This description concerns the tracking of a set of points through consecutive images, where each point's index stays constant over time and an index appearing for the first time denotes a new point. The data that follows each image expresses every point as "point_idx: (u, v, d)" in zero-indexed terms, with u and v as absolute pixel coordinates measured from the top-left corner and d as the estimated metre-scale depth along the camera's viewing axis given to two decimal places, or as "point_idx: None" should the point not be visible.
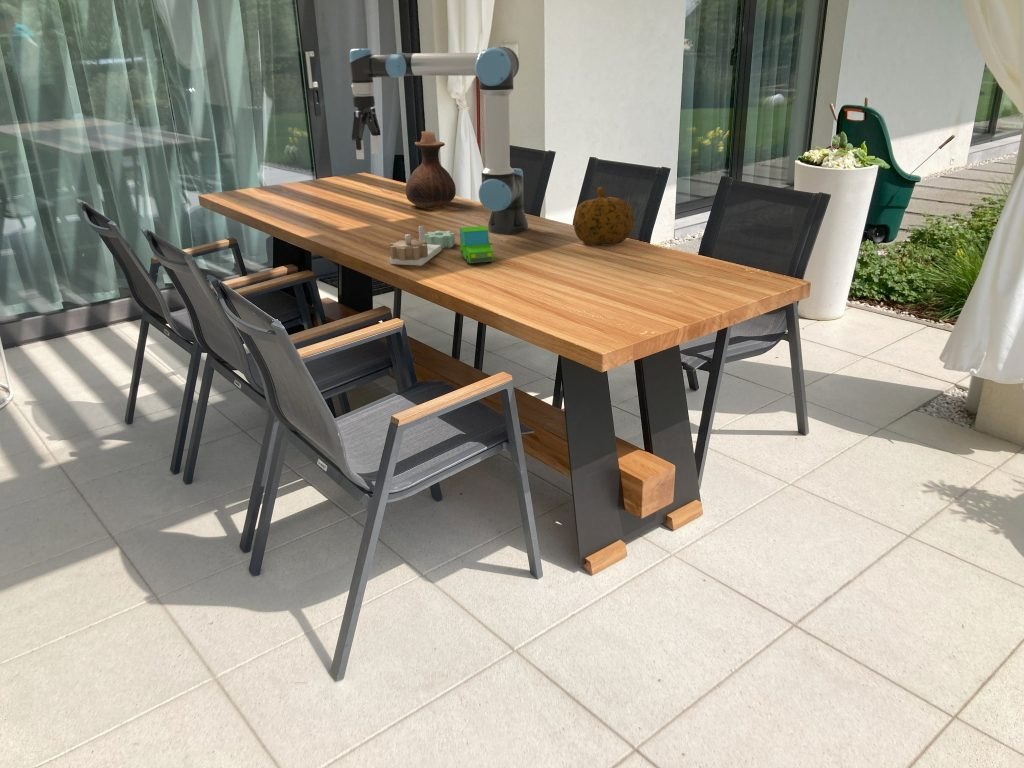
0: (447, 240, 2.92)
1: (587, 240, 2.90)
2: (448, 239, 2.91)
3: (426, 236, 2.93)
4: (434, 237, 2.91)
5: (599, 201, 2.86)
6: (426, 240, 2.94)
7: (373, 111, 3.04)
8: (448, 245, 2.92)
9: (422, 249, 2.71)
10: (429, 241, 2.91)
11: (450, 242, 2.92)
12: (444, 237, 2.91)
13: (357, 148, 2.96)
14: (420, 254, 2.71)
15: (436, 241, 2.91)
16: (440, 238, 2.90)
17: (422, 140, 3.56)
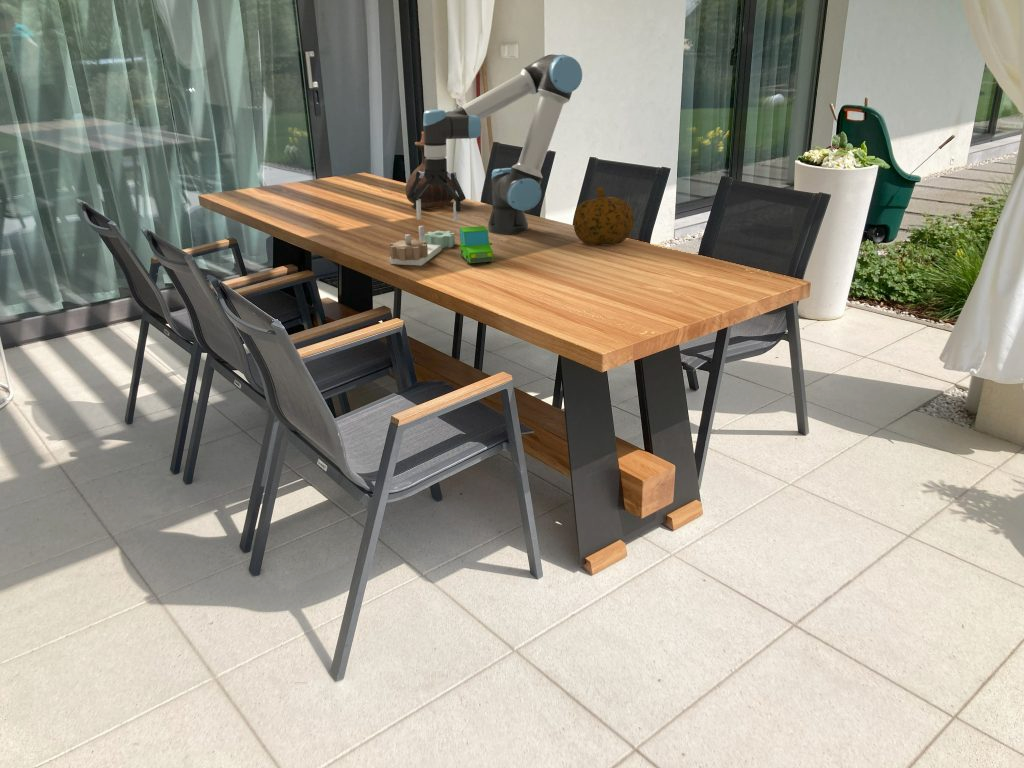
0: (447, 240, 2.92)
1: (587, 240, 2.90)
2: (448, 239, 2.91)
3: (426, 236, 2.93)
4: (434, 237, 2.91)
5: (599, 201, 2.85)
6: (426, 240, 2.94)
7: (451, 176, 2.84)
8: (448, 245, 2.92)
9: (422, 249, 2.71)
10: (429, 241, 2.91)
11: (450, 242, 2.92)
12: (444, 237, 2.91)
13: None
14: (420, 254, 2.71)
15: (436, 241, 2.91)
16: (440, 238, 2.90)
17: (422, 140, 3.56)
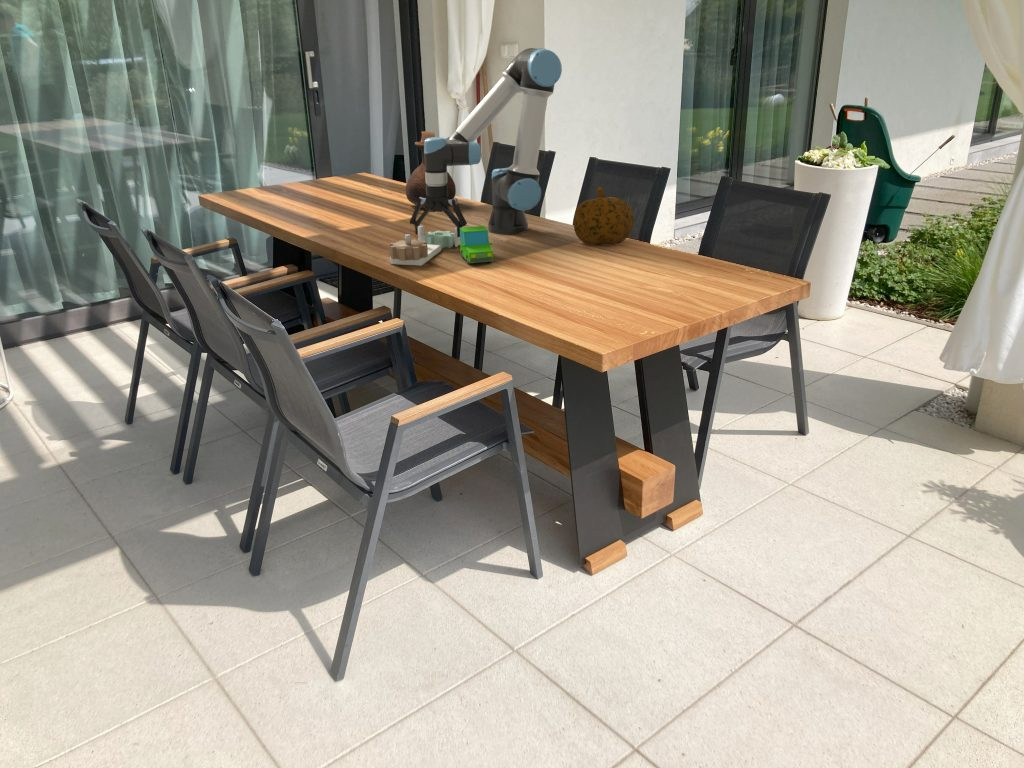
0: (447, 240, 2.92)
1: (587, 240, 2.90)
2: (448, 239, 2.91)
3: (426, 236, 2.93)
4: (434, 237, 2.91)
5: (599, 201, 2.85)
6: (426, 240, 2.94)
7: (452, 202, 2.88)
8: (448, 245, 2.92)
9: (422, 249, 2.71)
10: (429, 241, 2.91)
11: (450, 242, 2.92)
12: (444, 237, 2.91)
13: None
14: (420, 254, 2.71)
15: (436, 241, 2.91)
16: (440, 238, 2.90)
17: (422, 140, 3.56)
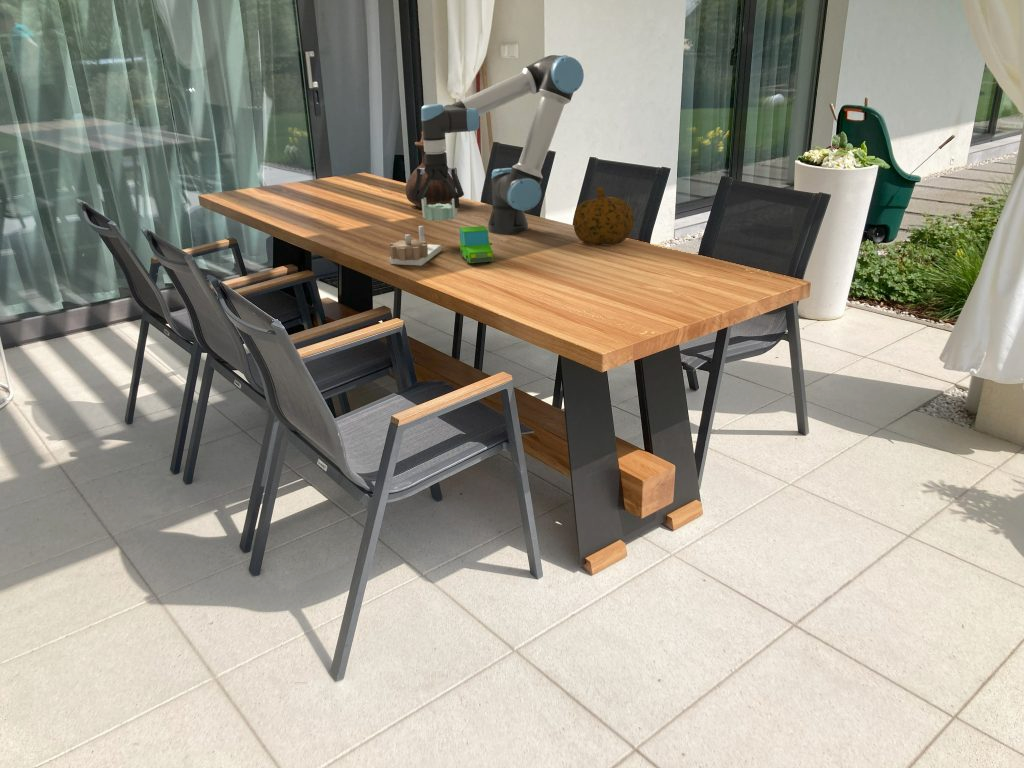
0: (448, 212, 2.88)
1: (587, 240, 2.90)
2: (448, 211, 2.88)
3: (426, 209, 2.89)
4: (434, 209, 2.87)
5: (599, 201, 2.86)
6: (426, 213, 2.90)
7: (451, 172, 2.84)
8: (448, 217, 2.89)
9: (422, 249, 2.71)
10: (429, 214, 2.87)
11: (450, 214, 2.88)
12: (444, 209, 2.88)
13: None
14: (420, 254, 2.71)
15: (436, 213, 2.88)
16: (440, 210, 2.86)
17: (422, 140, 3.56)
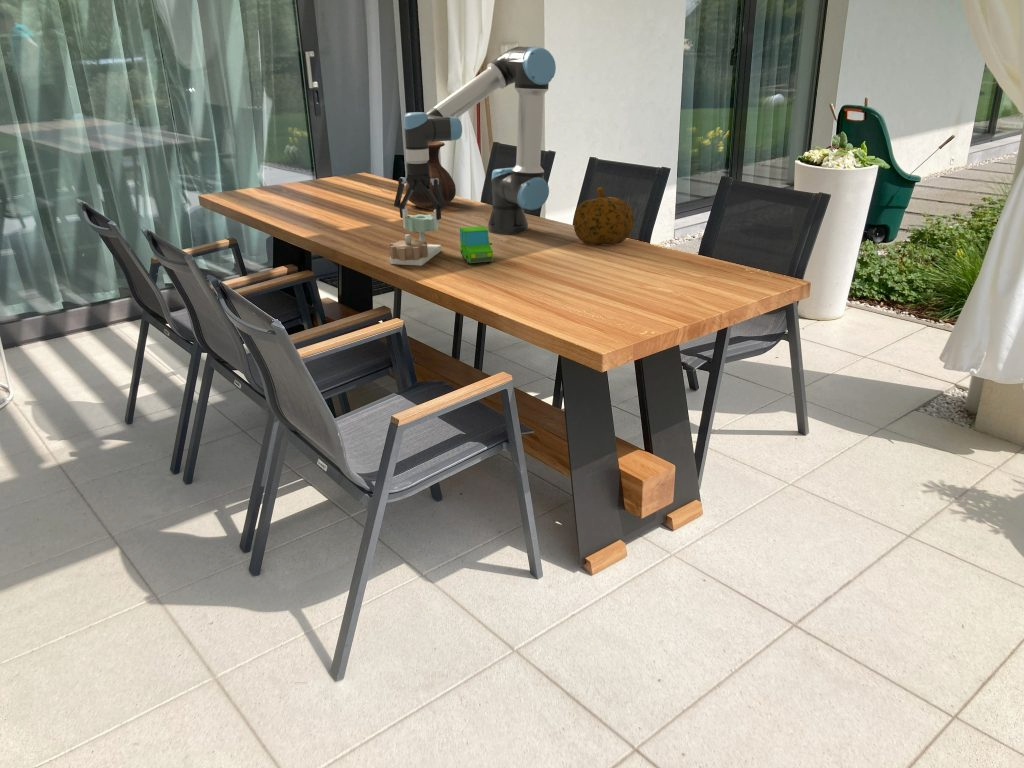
0: (429, 223, 2.79)
1: (587, 240, 2.90)
2: (430, 222, 2.79)
3: (407, 219, 2.81)
4: (415, 220, 2.78)
5: (599, 201, 2.86)
6: (407, 223, 2.81)
7: (433, 182, 2.75)
8: (430, 229, 2.80)
9: (422, 249, 2.71)
10: (410, 224, 2.78)
11: (432, 226, 2.80)
12: (425, 220, 2.79)
13: None
14: (420, 254, 2.71)
15: (417, 224, 2.79)
16: (421, 221, 2.77)
17: None
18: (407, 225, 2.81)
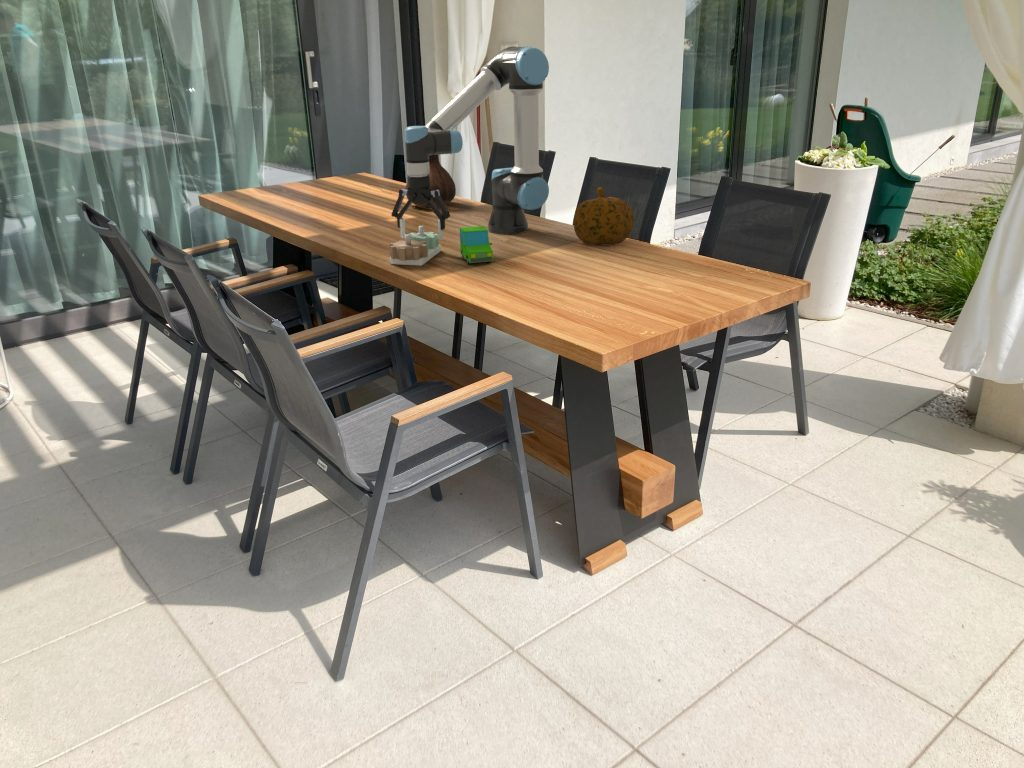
0: (430, 241, 2.82)
1: (587, 240, 2.90)
2: (431, 240, 2.81)
3: None
4: (416, 238, 2.81)
5: (599, 201, 2.86)
6: None
7: None
8: (431, 247, 2.82)
9: (422, 249, 2.71)
10: None
11: (433, 243, 2.82)
12: (427, 238, 2.81)
13: None
14: (420, 254, 2.71)
15: None
16: (423, 239, 2.80)
17: None
18: None
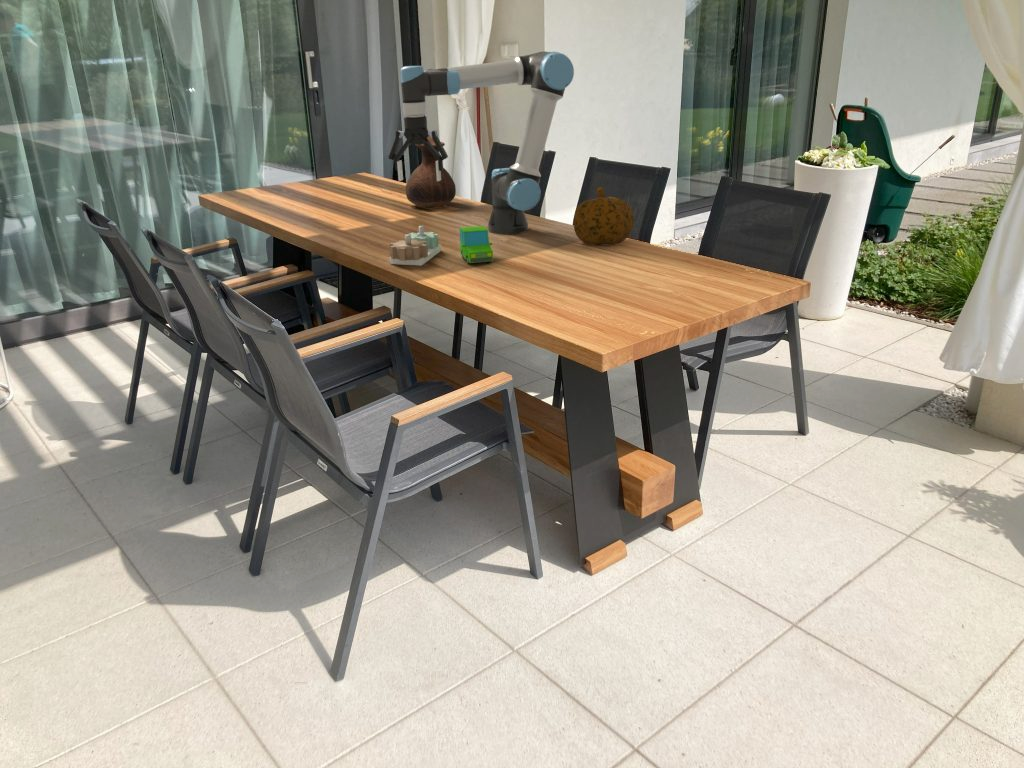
0: (430, 241, 2.82)
1: (587, 240, 2.90)
2: (431, 240, 2.81)
3: None
4: (416, 238, 2.81)
5: (599, 201, 2.85)
6: None
7: (431, 134, 2.77)
8: (431, 247, 2.82)
9: (422, 249, 2.71)
10: None
11: (433, 243, 2.82)
12: (427, 238, 2.81)
13: None
14: (420, 254, 2.71)
15: None
16: (423, 239, 2.80)
17: None
18: None
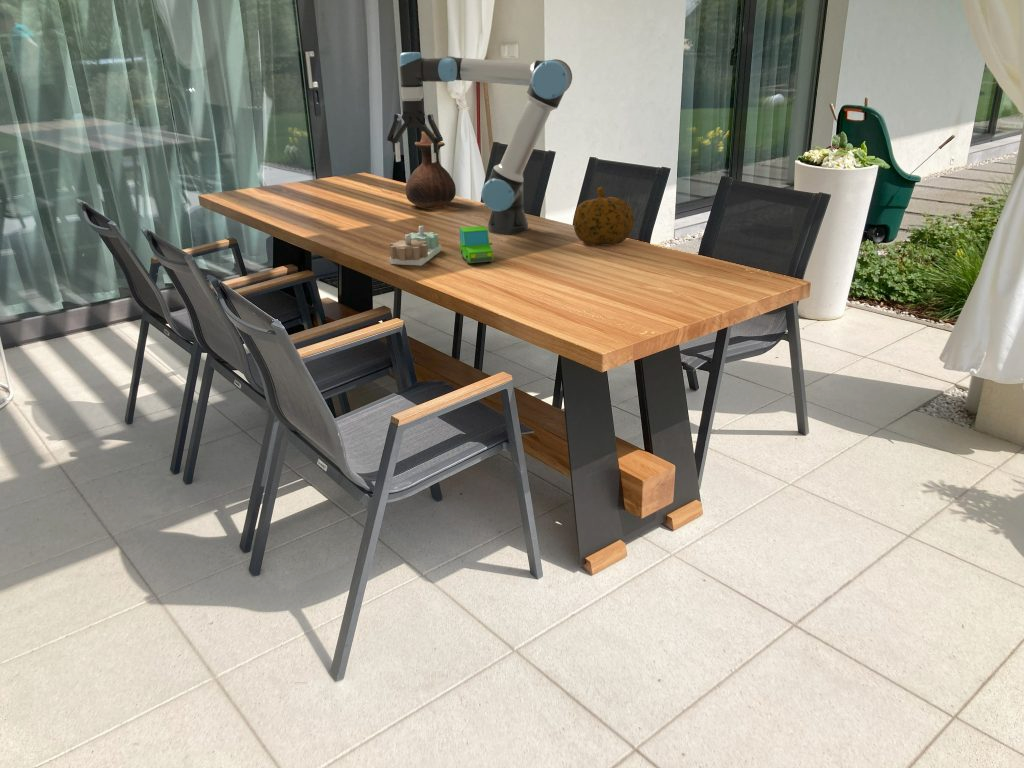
0: (430, 241, 2.82)
1: (587, 240, 2.90)
2: (431, 240, 2.81)
3: None
4: (416, 238, 2.81)
5: (599, 201, 2.85)
6: None
7: (428, 118, 2.91)
8: (431, 247, 2.82)
9: (422, 249, 2.71)
10: None
11: (433, 243, 2.82)
12: (427, 238, 2.81)
13: None
14: (420, 254, 2.71)
15: None
16: (423, 239, 2.80)
17: (422, 140, 3.56)
18: None
